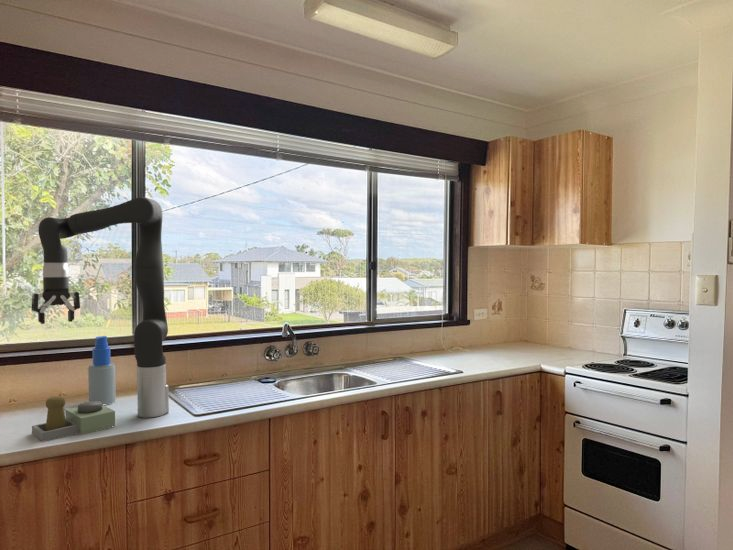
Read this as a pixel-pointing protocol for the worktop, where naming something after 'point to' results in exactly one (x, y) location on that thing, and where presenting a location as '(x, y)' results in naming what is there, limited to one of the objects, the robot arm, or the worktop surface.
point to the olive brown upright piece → (55, 413)
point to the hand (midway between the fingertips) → (56, 322)
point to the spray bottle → (101, 373)
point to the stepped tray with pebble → (79, 421)
